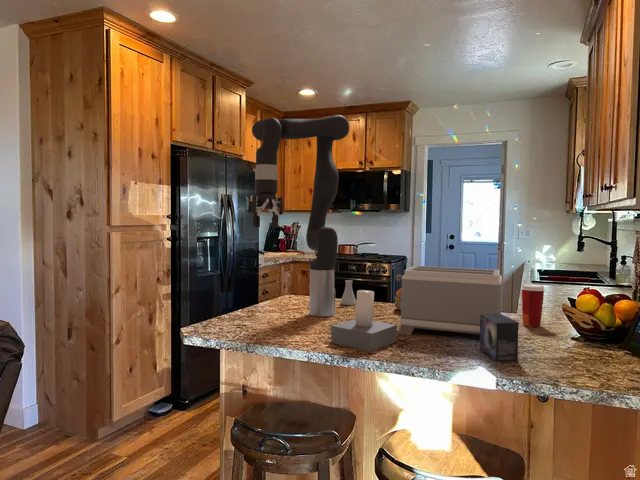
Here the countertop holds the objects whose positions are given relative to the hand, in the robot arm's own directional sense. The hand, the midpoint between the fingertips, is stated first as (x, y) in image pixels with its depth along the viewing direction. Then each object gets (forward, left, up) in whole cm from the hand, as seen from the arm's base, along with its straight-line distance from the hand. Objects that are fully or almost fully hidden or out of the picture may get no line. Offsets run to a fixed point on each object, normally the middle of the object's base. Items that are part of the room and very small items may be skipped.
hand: (266, 227), depth 160 cm
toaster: (-32, +51, -34) cm, 69 cm away
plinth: (-3, +38, -33) cm, 50 cm away
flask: (-51, -1, -33) cm, 61 cm away
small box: (-15, +73, -33) cm, 82 cm away
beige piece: (-3, +38, -28) cm, 47 cm away
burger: (-56, +26, -33) cm, 70 cm away
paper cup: (-61, +70, -33) cm, 99 cm away
